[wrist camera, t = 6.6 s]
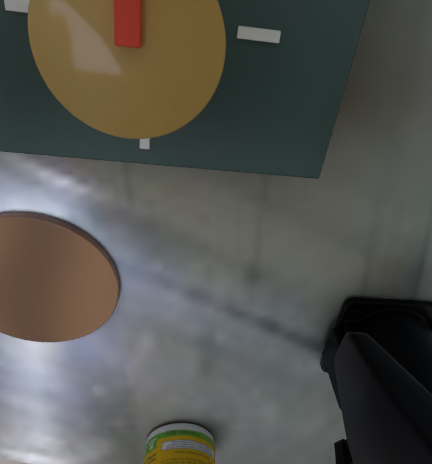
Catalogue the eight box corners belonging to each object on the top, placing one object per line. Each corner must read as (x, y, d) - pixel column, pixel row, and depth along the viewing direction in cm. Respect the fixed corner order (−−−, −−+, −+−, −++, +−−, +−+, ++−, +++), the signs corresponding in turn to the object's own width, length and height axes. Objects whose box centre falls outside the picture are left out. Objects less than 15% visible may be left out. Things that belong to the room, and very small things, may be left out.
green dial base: (374, -135, 13) (417, -156, 11) (302, 150, 19) (320, 181, 16) (-80, -212, 12) (-157, -260, 9) (-14, 120, 17) (-50, 149, 15)
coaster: (118, 218, 21) (117, 223, 20) (120, 339, 26) (119, 345, 25) (-72, 204, 20) (-78, 209, 19) (-31, 332, 25) (-35, 339, 24)
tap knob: (208, 97, 14) (215, 151, 10) (80, 84, 14) (36, 135, 10) (224, -54, 12) (241, -58, 8) (70, -77, 11) (5, -94, 7)
